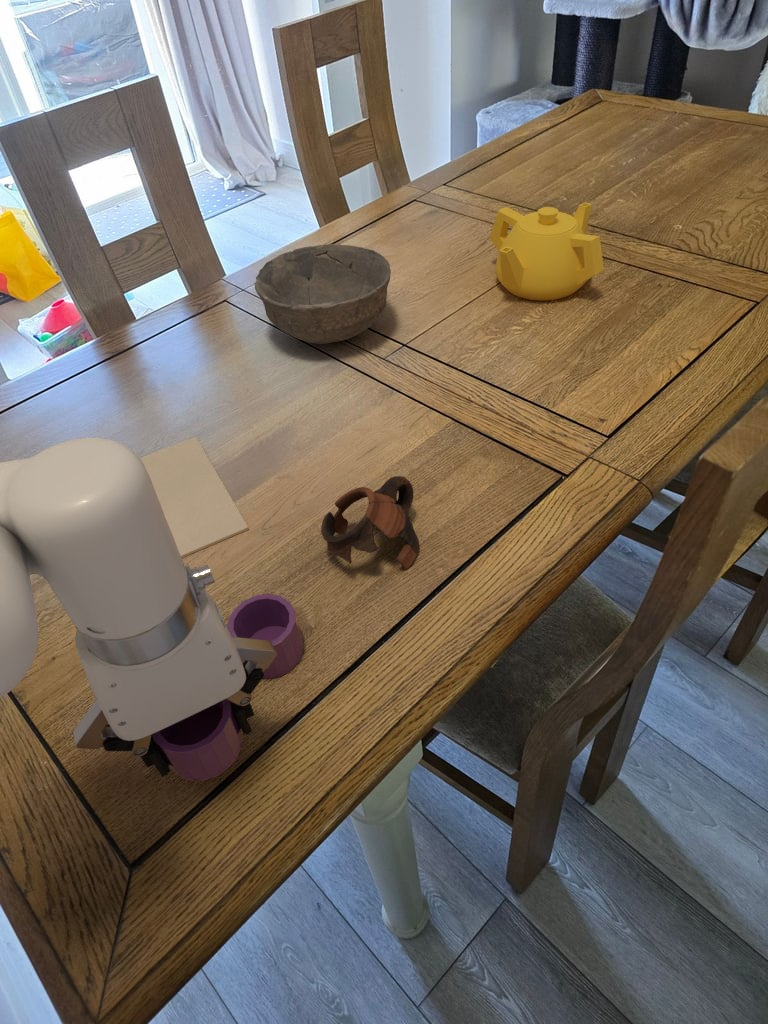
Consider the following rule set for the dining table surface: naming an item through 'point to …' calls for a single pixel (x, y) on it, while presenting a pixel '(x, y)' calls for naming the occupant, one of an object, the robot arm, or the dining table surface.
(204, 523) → the placemat
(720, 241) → the dining table surface
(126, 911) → the dining table surface
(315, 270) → the bowl
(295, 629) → the purple hollow cylinder
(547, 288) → the teapot
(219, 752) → the purple cup
